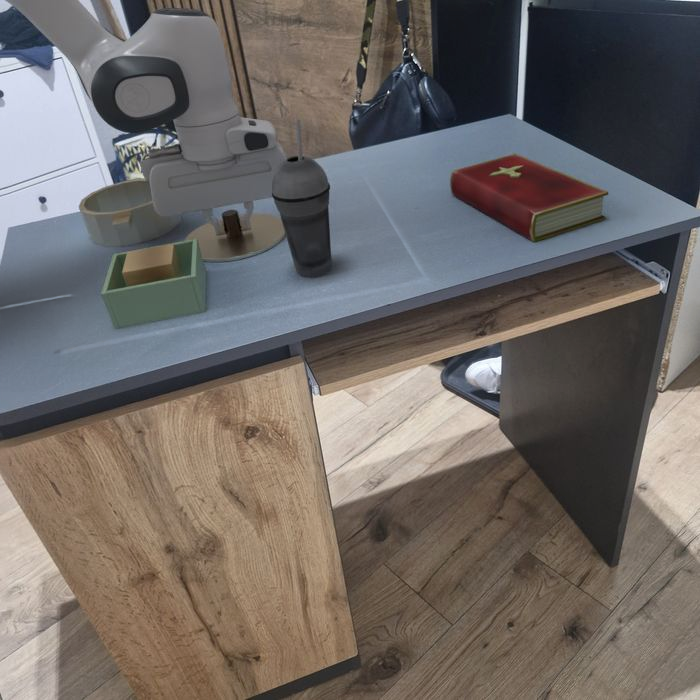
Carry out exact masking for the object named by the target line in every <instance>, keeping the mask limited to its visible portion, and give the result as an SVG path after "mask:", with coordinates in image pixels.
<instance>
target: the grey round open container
mask: <svg viewBox="0 0 700 700" xmlns="http://www.w3.org/2000/svg"><path fill="white" fill-rule="evenodd" d="M78 210H79V213H80V214H81V217H82V220H83V223H84V226H85V228H86V231H87V234H88V236H89V239H90V240H91V241H92V243H94V245H98V246H101V247H105V248H116V247H117V248H118V247H119V248H120V247H121V248H122V247H127V246H133V245H139V244H143V243H146V242H149V241H152V240H155V239H158V238H161V237H162V236H165V235H166V234H168V233H170V232H172V231H173V230H174V229H175V228H176V227H177V226H178V225H179V224H181V222H182V214H178V215H172V216H167V217H162V216H160V215H159V214H158V213H156V211H155V209H154V205H153V200H152V195H151V189H150V182H149V181H147V180H146V179H145V178H143V177H142V178H141V177H138V178H132V179H131V178H130V179H126V180H124V181H123V180H122V181H120V182H116V183H113V184H110V185H106V186H103V187H101V188H99V189H97V190H94V191H92V192H91V193H89V194H88V195H86V196H84V198H82V199H81V200H80V202H79V205H78Z"/></svg>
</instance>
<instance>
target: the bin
mask: <svg viewBox="0 0 700 700" xmlns="http://www.w3.org/2000/svg"><path fill="white" fill-rule="evenodd" d="M173 243H174V245H175V249H176V252H177V255H178V259H179V262H180V265H181V269H182V272H183V275H184V276H183V277H178V278H172V279H167V280H162V281H156V282H151V283H146V284H141V285H135V286H130V287H127V285H126V282H125V280H124V277H123V274H122V271H123V267H124V263H125V259H126V255H127V252H130V251H131V250H128V251H122V252H117V253H113V254H112V256H111V260H110V263H109V266H108V269H107V273H106V276H105V280H104V283H103V285H102V289H101V292H100V293H101V294H100V295H101V298H102V301H103V302H104V305H105V308H106V310H107V313H108V316H109V318H110V320H111V321H110V322H111V323H112V326H113V327H114V328H113V329H115V330H117V329H122V328H127V327H132V326H138V325H142V324H147V323H152V322H158V321H163V320H168V319H174V318H179V317H184V316H188V315H194V314H200V313H204V312H205V313H206V312H207V269H206V265H205V261H203V258H202V254H201V250H200V247H199V243H198V240H197V239H193V240H187V241H184V240H183V241H176V242H172V243H171V242H170V244H173ZM168 244H169V243H166V244H164V245H168ZM162 245H163V244H160V245H159V246H162ZM157 246H158V245H155V246H153V247H157ZM151 247H152V246H150V247H149V246H148V248H151ZM146 248H147V247H145V248H143V249H146ZM141 249H142V248H140V249H137V250H141ZM135 250H136V249H134V250H132V251H135Z"/></svg>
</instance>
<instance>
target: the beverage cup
mask: <svg viewBox="0 0 700 700" xmlns="http://www.w3.org/2000/svg"><path fill="white" fill-rule="evenodd" d="M301 126H302V125H301V119H296V120H295V127H296V145H297V146H296V147H297V155H294V156H291V157H287V159H286V160H284V161H283V162H282V163H281V164H280V165H279V166H278V167H277V169H276V171H275V173H274V176H273V181H272V199H273V200H274V205H275V206H276V210H277V212H278V213H279V216H280V219H281V220H282V223H283V227H284V230H285V234H286V235H285V236H286V241H287V244H288V247H289V251H290V254H291V259H292V262H293V265H294V268H295V270H296V272H297V274H298V276H299V277H301V278H306V279H307V278H308V279H312V278H313V279H314V278H319V277H322V276H325V275H326V274H328V273H329V272H330V271H331V269H332V247H331V246H332V245H331V230H330V212H329V211H330V209H329V205H330V190H331V184H330V183H329V180H328V176H327V173H326V171H325V170H324V168H323V167H322V166H321V165H320V164H319V163H318V162H317V161H316V160H314V159H313V158H311V157H308V156H305V155H303V144H302V128H301Z"/></svg>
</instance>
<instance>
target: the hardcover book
mask: <svg viewBox="0 0 700 700" xmlns="http://www.w3.org/2000/svg"><path fill="white" fill-rule="evenodd" d="M449 179H450V180H449V185H450V186H449V187H450V192H451V194H452V196H454V197H455V198H457V199H459V200H461V201H462V202H464V203H466V204H468V205H469V206H471V207H472V208H474V207H475V209H476V210H478V211H479V212H481V213H483V214H485V215H486V216H488V217H490V218H492V219H493V220H495V221H497V222H499V223H500V224H502V225H504V226H505V227H507V228H509V229H511V230H512V231H514V232H516V233H518V234H519V235H521V236H523V237H524V238H527V239H528V240H530V241H532V242H534V243H537V242H539V241H542V240H545V239H548V238H552V237H556V236H559V235H562V234H565V233H567V232H568V233H569V232H571V231H573V230H576V229H579V228H584V227H586V226H588V225H589V226H590V225H593V224H595V223H599V222H601V221H604V220H606V216H605V215H603V214H602V213H603V206H604V205H603V204H604V197H606V196H609V191H607V190H606V189H605V190H604V189H602V188H600V187H597V186H595V185H592V184H591V183H588V182H585V181H583V180H580V179H578V178H576V177H573V176H571V175H569V174H566V173H563V172H561V171H560V170H556V169H554V168H552V167H549V166H546V165H544V164H543V163H541V162H540V163H539V162H537V161H535V160H532V159H530V158H528V157H525V156H523V155H521V154H518V153H516V152H515V153H511V154H508V155H504V156H501V157H498V158H494V159H490V160H487V161H482V162H479V163H475V164H472V165H469V166H465V167H461V168H457V169H454V170H451V172H450V178H449Z"/></svg>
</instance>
